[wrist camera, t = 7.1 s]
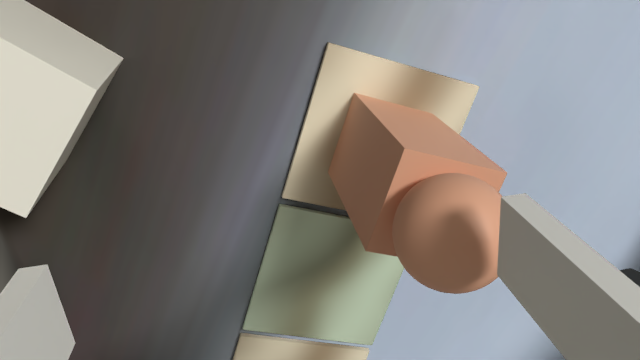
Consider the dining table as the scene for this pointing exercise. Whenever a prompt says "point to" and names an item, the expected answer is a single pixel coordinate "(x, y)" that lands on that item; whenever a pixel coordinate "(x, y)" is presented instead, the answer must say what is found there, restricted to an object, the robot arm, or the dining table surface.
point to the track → (335, 220)
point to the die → (43, 98)
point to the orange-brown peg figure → (419, 194)
